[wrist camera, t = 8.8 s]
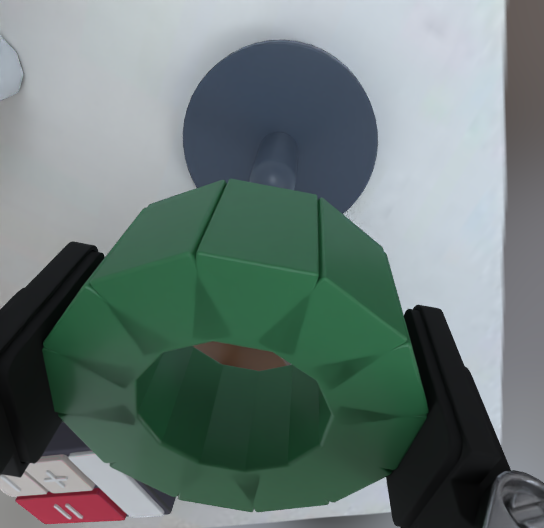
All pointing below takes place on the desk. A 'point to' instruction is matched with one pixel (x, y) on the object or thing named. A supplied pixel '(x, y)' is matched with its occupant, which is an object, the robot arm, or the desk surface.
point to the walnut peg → (241, 356)
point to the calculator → (81, 486)
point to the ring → (247, 333)
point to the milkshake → (9, 70)
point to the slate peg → (282, 123)
